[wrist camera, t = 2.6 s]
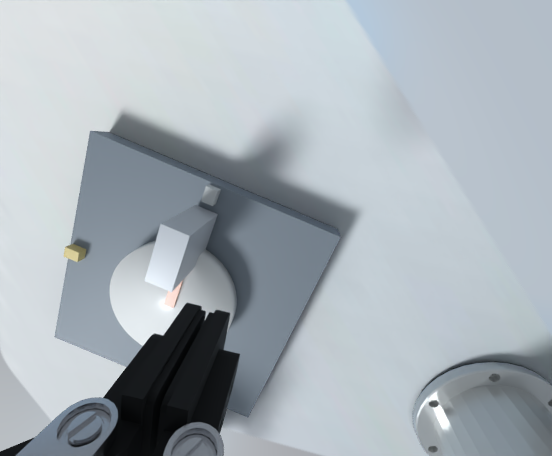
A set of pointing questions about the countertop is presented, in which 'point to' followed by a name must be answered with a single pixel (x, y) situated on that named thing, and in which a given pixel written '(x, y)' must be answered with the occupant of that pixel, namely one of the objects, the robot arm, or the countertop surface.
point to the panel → (222, 244)
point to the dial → (171, 277)
